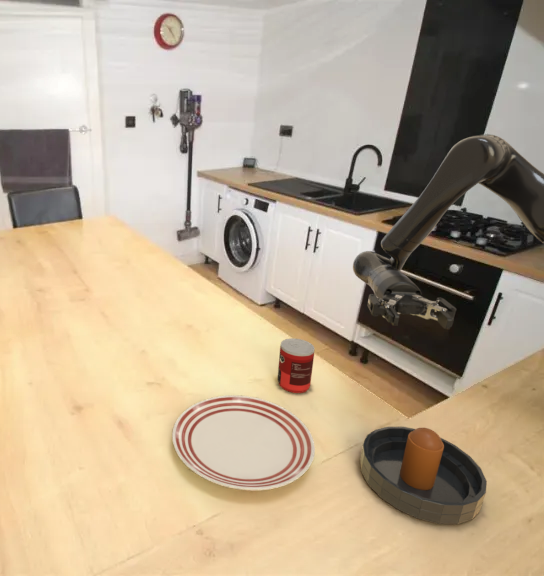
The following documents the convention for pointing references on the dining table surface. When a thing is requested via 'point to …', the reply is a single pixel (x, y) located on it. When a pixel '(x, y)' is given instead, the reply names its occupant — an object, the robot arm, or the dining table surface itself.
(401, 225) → the robot arm
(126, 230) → the dining table surface
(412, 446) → the orange round-topped cylinder
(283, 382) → the canned food
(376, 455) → the shallow round tray
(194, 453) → the dinner plate
